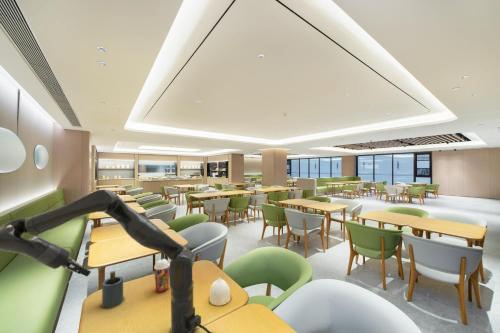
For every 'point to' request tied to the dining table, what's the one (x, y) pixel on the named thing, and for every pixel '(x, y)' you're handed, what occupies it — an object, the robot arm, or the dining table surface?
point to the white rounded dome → (219, 292)
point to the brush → (112, 277)
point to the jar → (112, 292)
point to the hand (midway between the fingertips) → (85, 271)
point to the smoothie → (162, 275)
